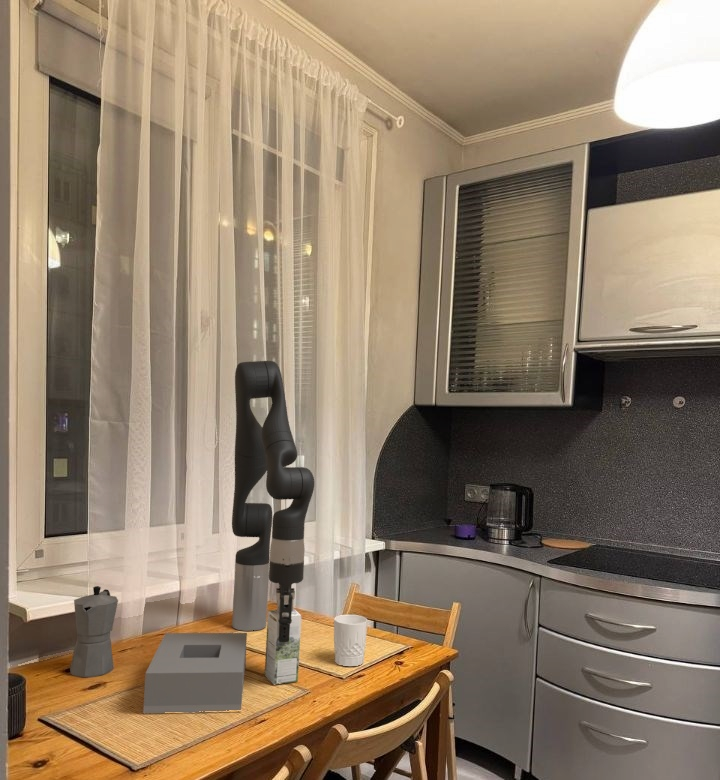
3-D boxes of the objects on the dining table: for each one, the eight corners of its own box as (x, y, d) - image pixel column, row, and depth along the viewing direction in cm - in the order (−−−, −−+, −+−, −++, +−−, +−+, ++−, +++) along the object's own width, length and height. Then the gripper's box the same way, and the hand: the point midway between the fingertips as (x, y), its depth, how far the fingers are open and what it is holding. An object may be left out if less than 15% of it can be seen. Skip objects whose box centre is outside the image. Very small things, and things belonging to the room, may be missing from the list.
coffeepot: (104, 681, 137) (110, 594, 138) (58, 681, 136) (63, 593, 137) (124, 656, 152) (129, 577, 153) (83, 655, 151) (88, 576, 152)
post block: (163, 667, 146) (165, 633, 146) (245, 666, 148) (246, 632, 149) (143, 714, 122) (145, 673, 123) (240, 712, 125) (242, 672, 125)
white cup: (339, 670, 148) (341, 625, 149) (327, 658, 156) (329, 615, 156) (371, 666, 152) (372, 622, 152) (357, 655, 159) (359, 613, 159)
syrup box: (288, 673, 145) (291, 606, 146) (298, 682, 140) (301, 613, 141) (264, 676, 143) (267, 609, 144) (273, 686, 138) (277, 616, 138)
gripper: (269, 552, 150) (266, 626, 149) (269, 565, 135) (265, 647, 134) (302, 552, 151) (299, 626, 150) (305, 565, 136) (302, 647, 135)
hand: (283, 635), depth 142 cm, fingers closed on syrup box, 7 cm apart
